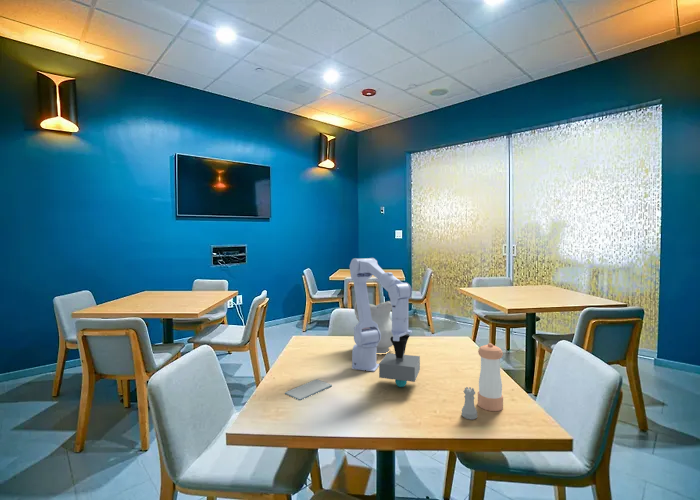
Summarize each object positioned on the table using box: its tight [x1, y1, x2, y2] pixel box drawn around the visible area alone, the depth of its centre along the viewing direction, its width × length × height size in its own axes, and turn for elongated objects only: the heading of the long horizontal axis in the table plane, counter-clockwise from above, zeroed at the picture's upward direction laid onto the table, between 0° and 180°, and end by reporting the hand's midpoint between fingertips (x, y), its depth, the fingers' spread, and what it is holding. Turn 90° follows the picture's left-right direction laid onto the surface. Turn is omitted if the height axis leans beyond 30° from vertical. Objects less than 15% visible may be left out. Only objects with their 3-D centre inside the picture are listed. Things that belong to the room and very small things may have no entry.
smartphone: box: [284, 378, 332, 401], centre depth 120 cm, size 8×1×15 cm
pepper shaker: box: [477, 342, 504, 412], centre depth 107 cm, size 7×7×19 cm
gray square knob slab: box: [378, 352, 421, 383], centre depth 123 cm, size 12×12×8 cm
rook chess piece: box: [460, 386, 478, 420], centre depth 101 cm, size 4×4×8 cm
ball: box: [394, 379, 408, 388], centre depth 122 cm, size 4×4×4 cm
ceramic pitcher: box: [353, 300, 393, 353], centre depth 164 cm, size 22×20×25 cm
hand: (400, 356), depth 123 cm, fingers closed on gray square knob slab, 2 cm apart
